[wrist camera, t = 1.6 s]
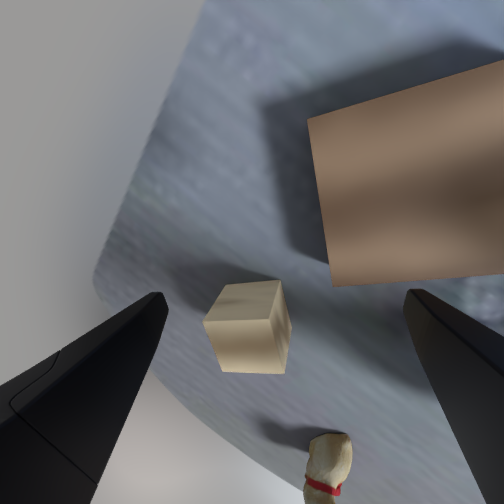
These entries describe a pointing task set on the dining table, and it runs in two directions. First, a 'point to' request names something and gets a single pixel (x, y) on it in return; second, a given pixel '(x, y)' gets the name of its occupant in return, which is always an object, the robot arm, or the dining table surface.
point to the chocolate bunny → (327, 467)
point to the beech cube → (250, 328)
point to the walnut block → (415, 181)
